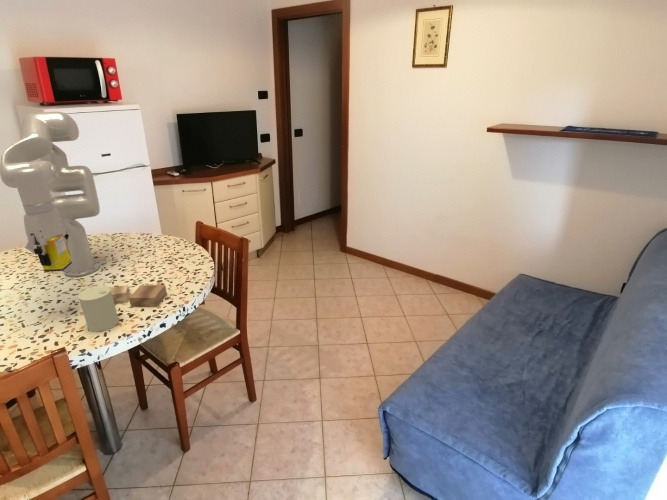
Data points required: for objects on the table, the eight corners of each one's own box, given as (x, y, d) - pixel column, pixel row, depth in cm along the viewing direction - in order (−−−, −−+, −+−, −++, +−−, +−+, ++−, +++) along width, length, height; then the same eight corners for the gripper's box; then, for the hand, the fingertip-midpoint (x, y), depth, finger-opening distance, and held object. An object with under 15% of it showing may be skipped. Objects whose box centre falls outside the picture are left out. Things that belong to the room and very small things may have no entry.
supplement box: (54, 264, 135) (44, 233, 131) (72, 263, 136) (63, 232, 131) (43, 272, 130) (32, 240, 125) (63, 271, 130) (53, 239, 126)
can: (112, 331, 128) (103, 297, 123) (81, 332, 128) (71, 299, 123) (123, 315, 137) (115, 283, 132) (95, 316, 136) (85, 284, 131)
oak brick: (109, 305, 143) (106, 295, 141) (112, 297, 148) (110, 287, 147) (127, 302, 145) (125, 292, 143) (130, 294, 150) (128, 285, 148)
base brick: (131, 307, 142) (128, 297, 140) (142, 294, 150) (140, 285, 148) (156, 307, 141) (154, 297, 140) (167, 294, 150) (165, 285, 148)
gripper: (51, 198, 133) (66, 248, 140) (2, 216, 117) (22, 271, 124) (71, 199, 131) (85, 250, 139) (25, 217, 116) (44, 273, 123)
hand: (56, 259), depth 132 cm, fingers closed on supplement box, 6 cm apart
